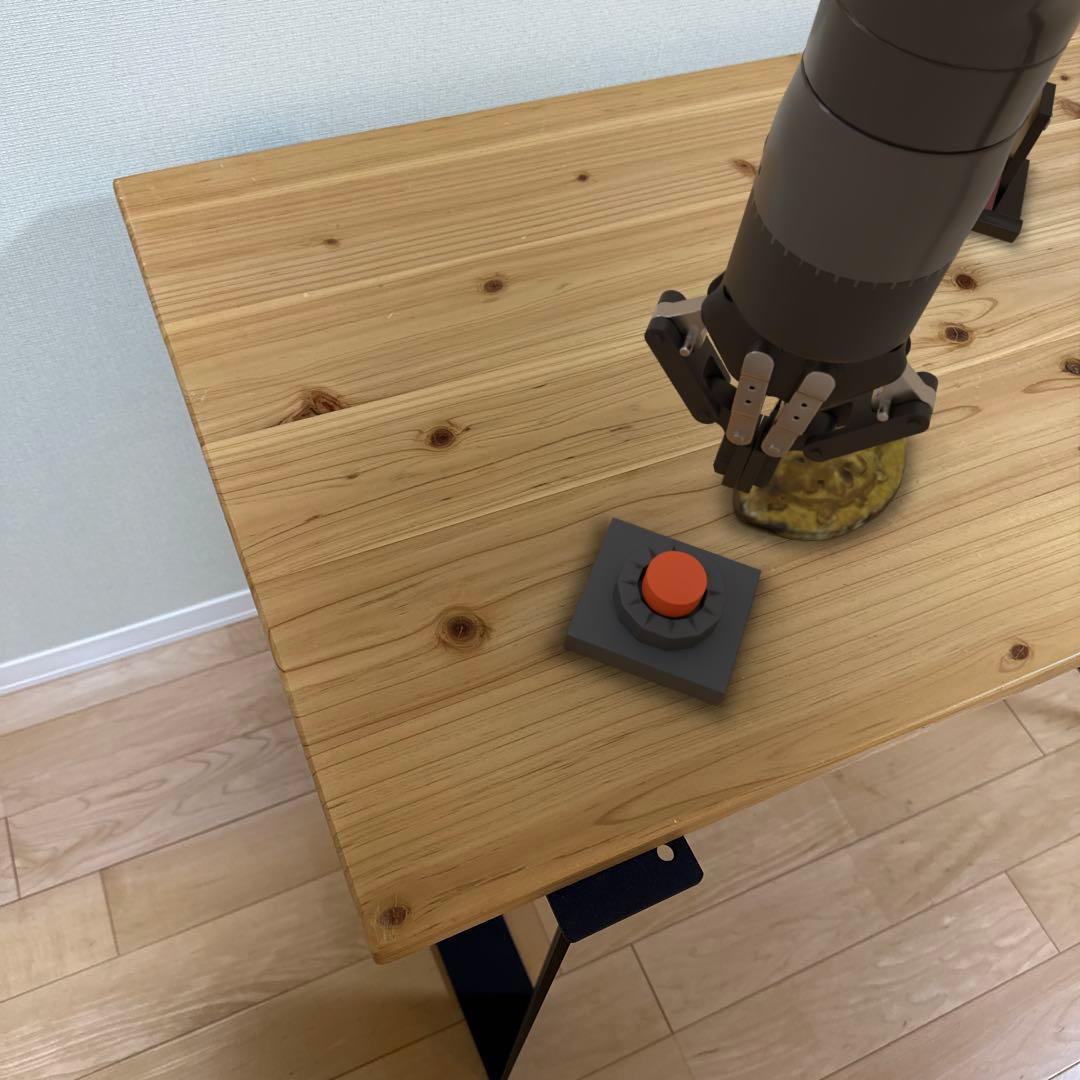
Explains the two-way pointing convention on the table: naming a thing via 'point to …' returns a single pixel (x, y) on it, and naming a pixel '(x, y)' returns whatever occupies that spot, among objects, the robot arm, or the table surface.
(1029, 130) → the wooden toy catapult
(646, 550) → the button box
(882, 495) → the olive oval piece
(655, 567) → the button
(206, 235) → the table surface
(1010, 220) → the dark red t-shaped bar
